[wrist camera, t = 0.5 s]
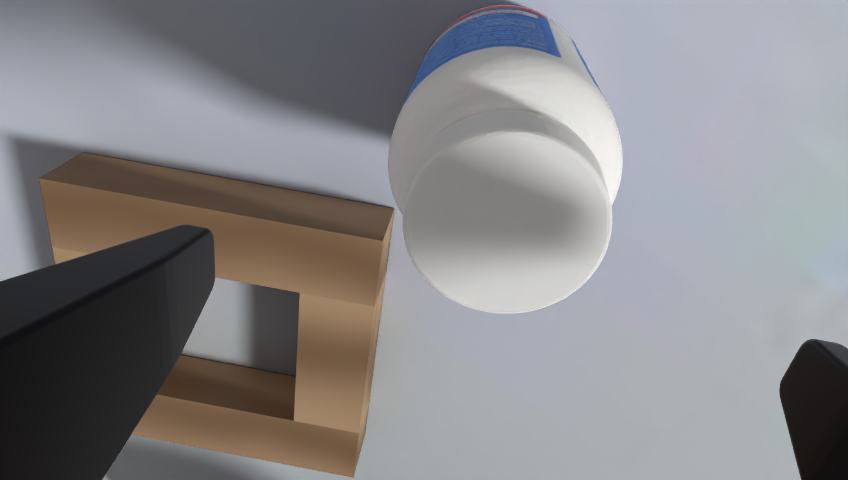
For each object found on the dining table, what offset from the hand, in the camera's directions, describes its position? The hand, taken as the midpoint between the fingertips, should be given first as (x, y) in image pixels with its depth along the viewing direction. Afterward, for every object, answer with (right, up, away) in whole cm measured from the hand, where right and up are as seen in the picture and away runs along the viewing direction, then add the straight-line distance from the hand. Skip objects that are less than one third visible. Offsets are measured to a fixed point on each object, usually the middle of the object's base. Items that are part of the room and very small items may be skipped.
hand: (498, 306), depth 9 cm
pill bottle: (+1, +6, +11) cm, 13 cm away
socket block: (-9, -2, +16) cm, 19 cm away
